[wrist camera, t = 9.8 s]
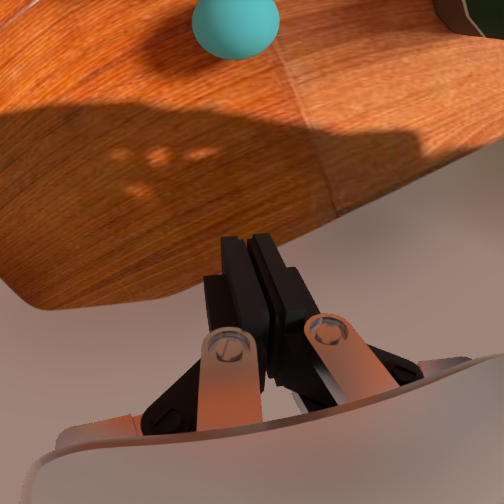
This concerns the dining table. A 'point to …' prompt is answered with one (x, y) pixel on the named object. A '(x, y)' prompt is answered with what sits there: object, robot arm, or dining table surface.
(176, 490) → the robot arm
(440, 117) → the dining table surface
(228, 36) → the ball
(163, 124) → the dining table surface
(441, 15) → the beer bottle
